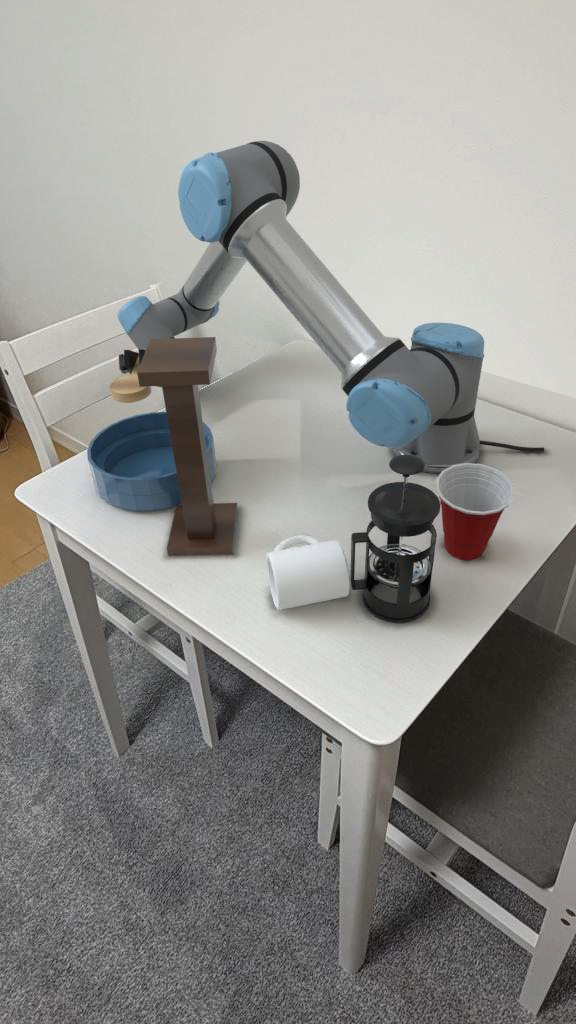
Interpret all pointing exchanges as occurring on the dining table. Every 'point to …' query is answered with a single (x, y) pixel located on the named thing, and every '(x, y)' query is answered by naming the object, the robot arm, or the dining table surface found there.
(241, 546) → the dining table surface
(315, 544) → the mug
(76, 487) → the dining table surface
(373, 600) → the french press
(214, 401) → the dining table surface
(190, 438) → the stand
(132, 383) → the spoon
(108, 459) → the bowl
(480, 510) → the plastic cup
